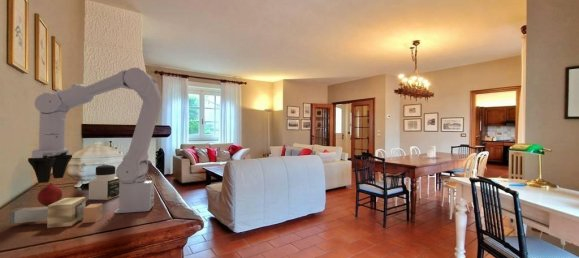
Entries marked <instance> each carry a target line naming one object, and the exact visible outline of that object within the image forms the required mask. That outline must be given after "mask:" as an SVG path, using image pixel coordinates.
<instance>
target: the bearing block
mask: <svg viewBox="0 0 579 258" xmlns="http://www.w3.org/2000/svg"><path fill="white" fill-rule="evenodd" d="M86 202H87V201H86V196H81V197H78V196H77V197H64V198H61V199H60V200H59V201H57V202H55V203H53V204H51V205H48V218H47V221H46V222H47V223H46V225H47V226H46V227H47V229H50V228H62V227H72V226H73V225H75V224H76V223H78V222H80V221H81V220H83V217H84V216H83V217H81V218H75V206H77V205H79V204H86Z"/></svg>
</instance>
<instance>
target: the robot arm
mask: <svg viewBox="0 0 579 258" xmlns="http://www.w3.org/2000/svg"><path fill="white" fill-rule="evenodd" d="M158 84H159V83H158V82H157V81H156V80H155V78H154V77H153V76H152V75H150V74H148V73H146V71H144V70H143V69H141V68H139V67H130V68H129V69H123V70H121V71H119V72H117V73H116V74H113V75H110V76H108V77H106V78H103V79H101V80H99V81H96V82H94V83H91V84H89V85H84V84H82V83H79V84H78V83H73V84H71V87H68V88H66V89H62V90H55V91H54V93H49V92H43V93H41V94H39V95H38V96H36V97H35V99H34V106H35V109H36V110H37V111H38V112H39V123H38V124H39V125H38V126H39V128H38V130H39V131H38V132H39V133H38V149H33V150H32V151H31V157H28V158H27V162H28V163H29V165H30V166H31V167H32V169H33V170H34V173H35V177H36V180H37V183H39V184H43V183H45V184H46V183H50V179H51V173H52V177H53V179H63V178H64V175H65V173H66V170H67V166H68V164H69V163H70V161H71V159H72V158H73V154H69V150H70V149H69V147H66V117H67V113H68V112H70V110H71V109H74V108H76V107H80V106H82V105H85V104H88V103H91V102H92V101H93V99H94V97H95V96H98V95H101V94H104V93H107V92H110V91H113V90H117V89H125V90H126V89H127V90H133V91H134V92H135V93H137V95H138V96H139V98H140V99H141V101H142V104H141V108H140V111H139V115H138V119H137V122H136V124H135V128H134V132H133V135H132V139H131V142H130V145H129V148H128V151H127V152H125V155H124V156H123V158H122V161H121V162H120V164H118V165H117V168H115V176H116V177H118V179H119V180H120V181H119V196H118V208H116V210H114V212H113V213H114V214H126V213H129V214H130V213H138V212H140V213H141V212H149V211H151V209H152V208H153V207H154V205H155V203H154V202H155V201H154V199H155V183H154V180H147V177H146V174H147V173H148V171H149V164H148V160H149V154H148V152H149V148H150V144H151V141H152V137H153V134H154V131H155V127H156V124H157V122H158V121H157V120H158V117H159V113H160V111H161V107H162V104H163V98H162V95H161V91H160V88H159V85H158Z"/></svg>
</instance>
